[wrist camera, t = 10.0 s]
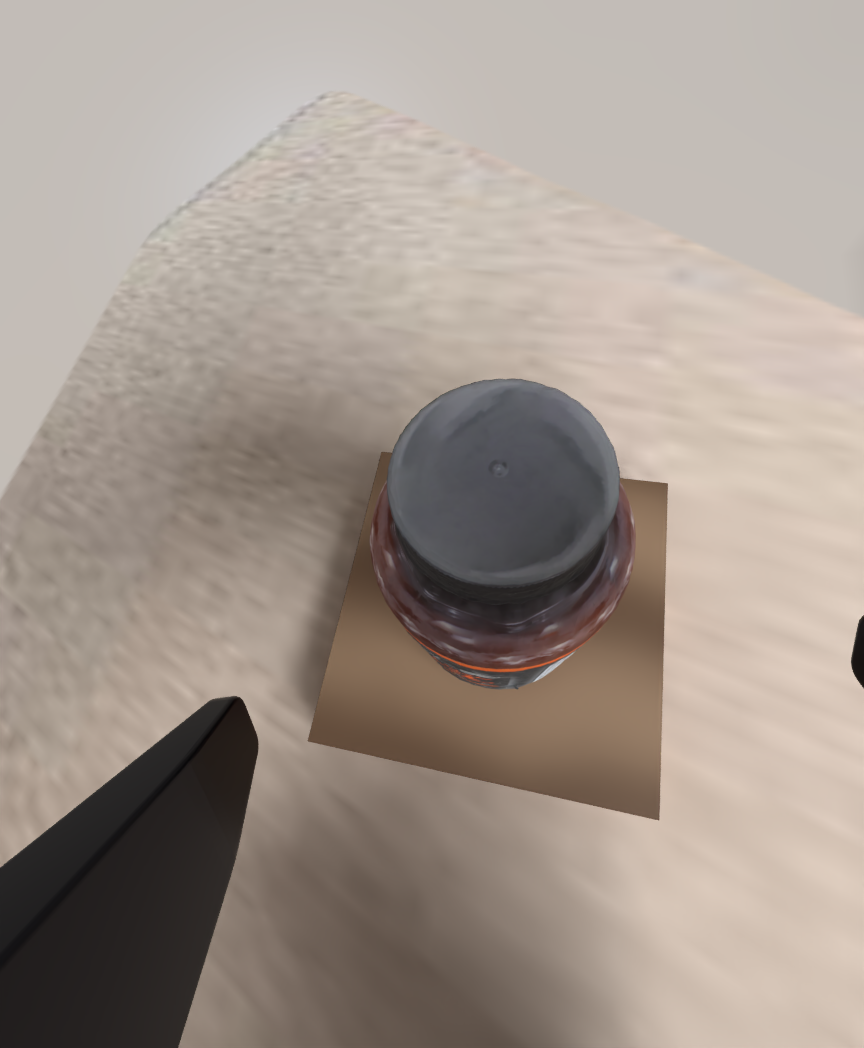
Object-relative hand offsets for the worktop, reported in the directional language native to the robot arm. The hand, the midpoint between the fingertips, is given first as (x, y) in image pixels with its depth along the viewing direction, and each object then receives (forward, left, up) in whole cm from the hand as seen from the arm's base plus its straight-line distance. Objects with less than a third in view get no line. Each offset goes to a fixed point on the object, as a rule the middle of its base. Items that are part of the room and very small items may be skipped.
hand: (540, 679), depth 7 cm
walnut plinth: (+3, +1, -14) cm, 14 cm away
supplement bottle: (+3, +1, -11) cm, 12 cm away
